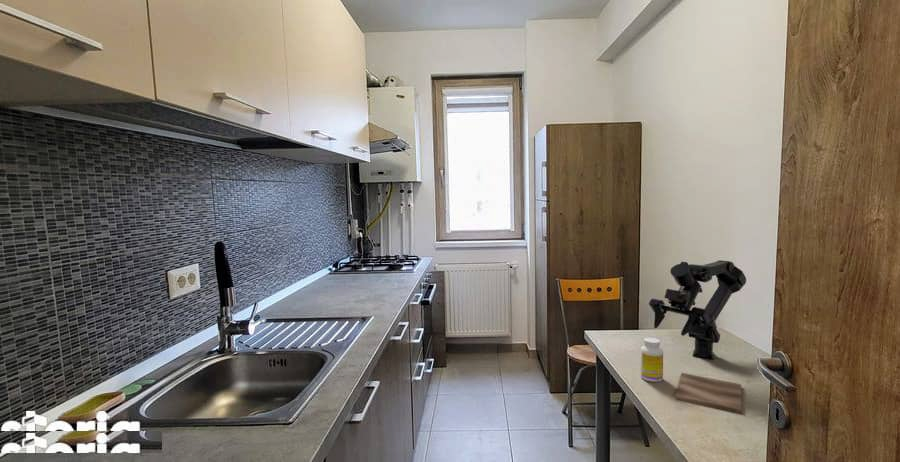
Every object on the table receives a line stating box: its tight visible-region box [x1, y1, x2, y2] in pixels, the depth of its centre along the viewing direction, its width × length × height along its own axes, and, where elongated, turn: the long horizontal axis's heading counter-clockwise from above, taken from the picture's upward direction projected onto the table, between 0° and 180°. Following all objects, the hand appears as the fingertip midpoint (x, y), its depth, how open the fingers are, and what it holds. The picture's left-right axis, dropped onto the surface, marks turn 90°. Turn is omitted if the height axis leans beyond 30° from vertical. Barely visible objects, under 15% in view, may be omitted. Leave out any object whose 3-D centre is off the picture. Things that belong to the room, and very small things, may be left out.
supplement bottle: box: [639, 337, 664, 383], centre depth 135 cm, size 7×7×13 cm
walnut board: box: [674, 372, 743, 415], centre depth 125 cm, size 18×16×1 cm
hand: (668, 331), depth 139 cm, fingers open, 9 cm apart
